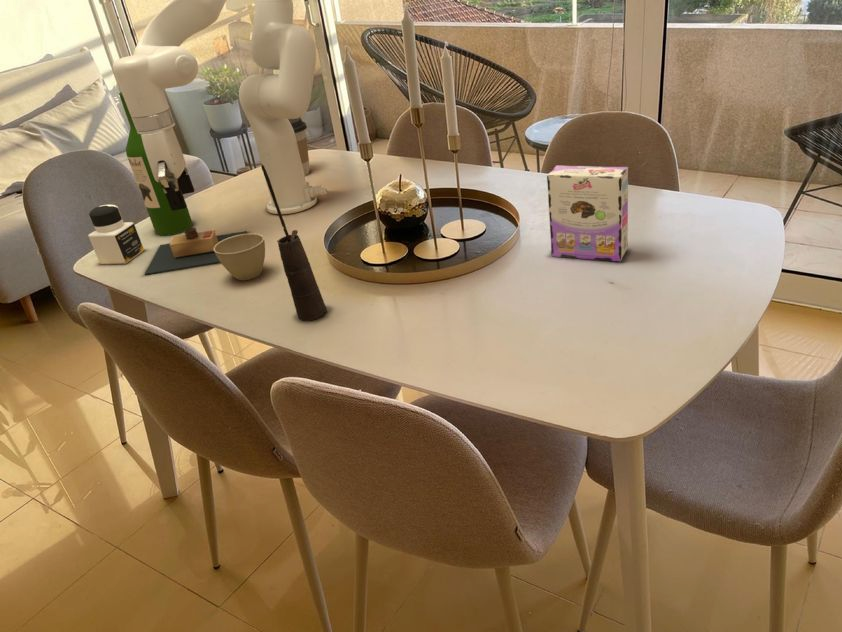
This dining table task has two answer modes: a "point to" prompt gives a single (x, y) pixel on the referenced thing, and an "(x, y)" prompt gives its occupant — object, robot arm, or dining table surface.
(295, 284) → the butter churn
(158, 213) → the wine bottle
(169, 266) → the desk mat
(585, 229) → the candy box
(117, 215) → the medicine bottle
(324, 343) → the dining table surface
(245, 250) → the beige bowl
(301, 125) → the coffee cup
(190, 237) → the stamp
